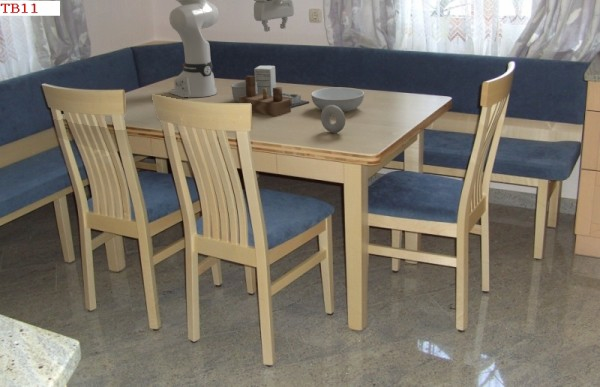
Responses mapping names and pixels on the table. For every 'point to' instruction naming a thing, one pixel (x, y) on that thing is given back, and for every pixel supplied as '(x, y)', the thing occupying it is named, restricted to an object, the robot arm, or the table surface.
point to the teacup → (240, 90)
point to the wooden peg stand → (265, 99)
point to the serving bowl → (338, 98)
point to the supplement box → (265, 79)
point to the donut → (338, 115)
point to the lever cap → (292, 98)
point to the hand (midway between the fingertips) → (275, 29)
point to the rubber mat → (299, 104)
